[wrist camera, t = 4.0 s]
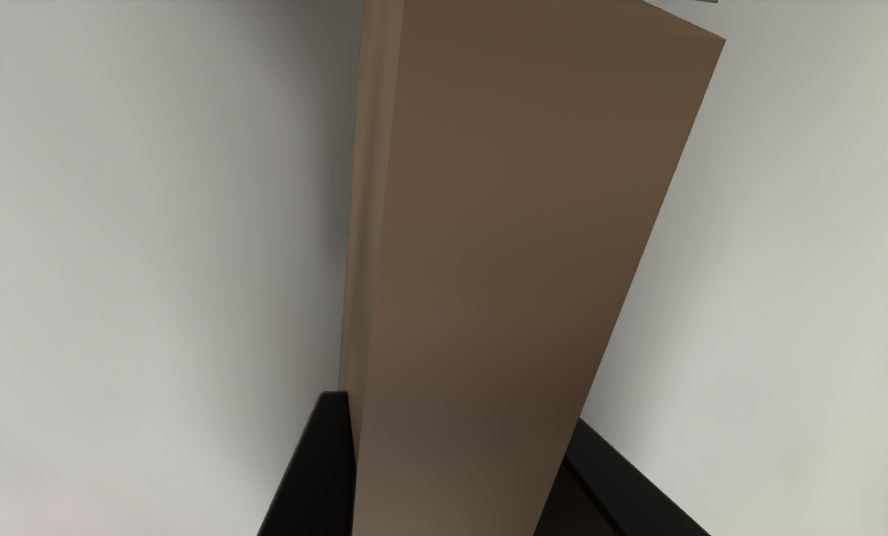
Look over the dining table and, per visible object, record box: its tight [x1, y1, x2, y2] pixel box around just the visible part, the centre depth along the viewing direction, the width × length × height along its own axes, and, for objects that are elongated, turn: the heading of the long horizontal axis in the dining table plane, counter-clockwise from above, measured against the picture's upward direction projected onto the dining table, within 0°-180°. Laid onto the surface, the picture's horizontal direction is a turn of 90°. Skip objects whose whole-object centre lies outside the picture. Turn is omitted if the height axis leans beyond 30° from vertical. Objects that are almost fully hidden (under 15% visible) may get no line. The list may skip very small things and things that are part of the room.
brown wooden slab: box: [338, 0, 726, 536], centre depth 7 cm, size 13×5×3 cm, turn 171°
